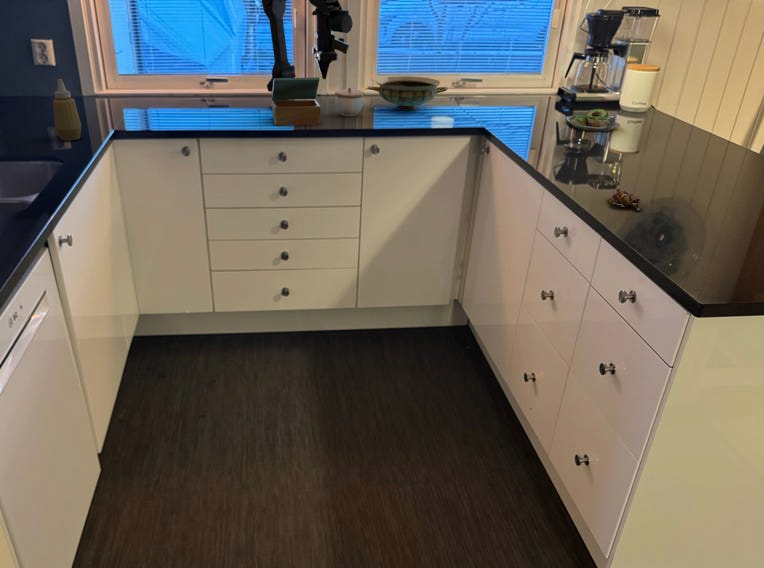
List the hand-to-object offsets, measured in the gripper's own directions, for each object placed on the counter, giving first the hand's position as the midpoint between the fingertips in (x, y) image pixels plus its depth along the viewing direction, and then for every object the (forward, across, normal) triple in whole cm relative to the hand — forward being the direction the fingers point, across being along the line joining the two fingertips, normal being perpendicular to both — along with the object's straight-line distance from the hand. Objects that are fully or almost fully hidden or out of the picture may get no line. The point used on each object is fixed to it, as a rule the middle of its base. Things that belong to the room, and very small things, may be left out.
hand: (324, 79), depth 244 cm
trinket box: (+13, +3, -10) cm, 17 cm away
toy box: (+13, -6, +11) cm, 18 cm away
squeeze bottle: (+13, -22, +86) cm, 90 cm away
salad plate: (+13, -25, -92) cm, 96 cm away
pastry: (+13, -104, -59) cm, 120 cm away
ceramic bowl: (+13, +11, -34) cm, 38 cm away
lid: (+3, -5, +11) cm, 12 cm away
